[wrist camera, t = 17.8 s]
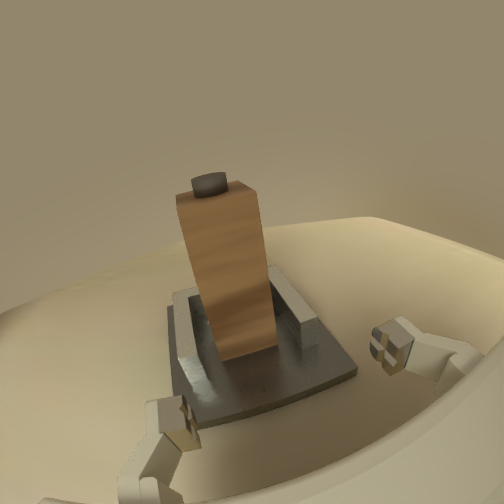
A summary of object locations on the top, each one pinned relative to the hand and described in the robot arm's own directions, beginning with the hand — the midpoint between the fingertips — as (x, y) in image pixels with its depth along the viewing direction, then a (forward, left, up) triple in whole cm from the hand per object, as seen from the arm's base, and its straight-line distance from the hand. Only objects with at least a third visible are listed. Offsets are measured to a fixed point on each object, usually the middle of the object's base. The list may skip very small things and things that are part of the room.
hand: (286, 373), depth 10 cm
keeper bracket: (-8, +9, -9) cm, 15 cm away
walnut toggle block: (-8, +9, -8) cm, 15 cm away
